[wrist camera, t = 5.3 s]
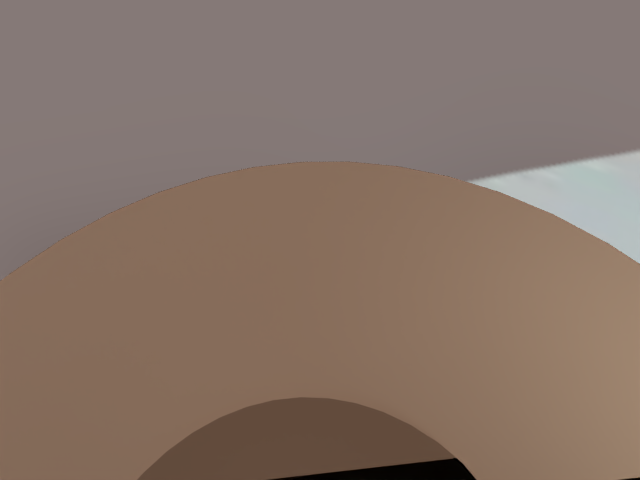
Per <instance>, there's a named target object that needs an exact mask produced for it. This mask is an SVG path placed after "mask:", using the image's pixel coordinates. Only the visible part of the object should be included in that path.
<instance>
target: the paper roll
mask: <svg viewBox="0 0 640 480" xmlns="http://www.w3.org/2000/svg"><path fill="white" fill-rule="evenodd" d="M0 480H640V264H639V263H637V262H636V261H634V260H633V259H631V258H630V257H628V256H627V255H625V254H624V253H622V252H621V251H619V250H617V249H616V248H614V247H613V246H611V245H610V244H608V243H606V242H604V241H602V240H601V239H599V238H597V237H595V236H593V235H591V234H589V233H587V232H585V231H584V230H582V229H580V228H578V227H576V226H574V225H572V224H570V223H569V222H567V221H565V220H563V219H561V218H559V217H557V216H555V215H553V214H551V213H549V212H546V211H544V210H541V209H539V208H537V207H534V206H532V205H529V204H527V203H525V202H522V201H520V200H517V199H515V198H513V197H510V196H508V195H505V194H503V193H501V192H498V191H494V190H491V189H488V188H485V187H481V186H478V185H475V184H471V183H468V182H465V181H461V180H458V179H455V178H452V177H449V176H444V175H439V174H434V173H429V172H423V171H419V170H414V169H408V168H404V167H398V166H389V165H379V164H368V163H357V162H297V163H287V164H278V165H269V166H260V167H252V168H247V169H243V170H238V171H233V172H229V173H224V174H219V175H214V176H209V177H205V178H202V179H199V180H196V181H193V182H190V183H186V184H183V185H180V186H177V187H174V188H171V189H167V190H164V191H161V192H158V193H156V194H153V195H151V196H149V197H146V198H144V199H142V200H139V201H137V202H135V203H132V204H130V205H128V206H126V207H123V208H121V209H118V210H116V211H114V212H111V213H109V214H108V215H106V216H104V217H102V218H100V219H98V220H96V221H94V222H93V223H91V224H89V225H87V226H85V227H84V228H82V229H80V230H78V231H76V232H74V233H72V234H71V235H69V236H67V237H65V238H63V239H61V240H60V241H58V242H57V243H55V244H54V245H52V246H51V247H49V248H48V249H46V250H45V251H43V252H42V253H40V254H39V255H37V256H36V257H34V258H33V259H31V260H30V261H28V262H27V263H25V264H24V265H22V266H21V267H19V268H18V269H16V270H15V271H13V272H12V273H10V274H9V275H8V276H6V277H5V278H4V279H3V280H1V281H0Z"/></svg>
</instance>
